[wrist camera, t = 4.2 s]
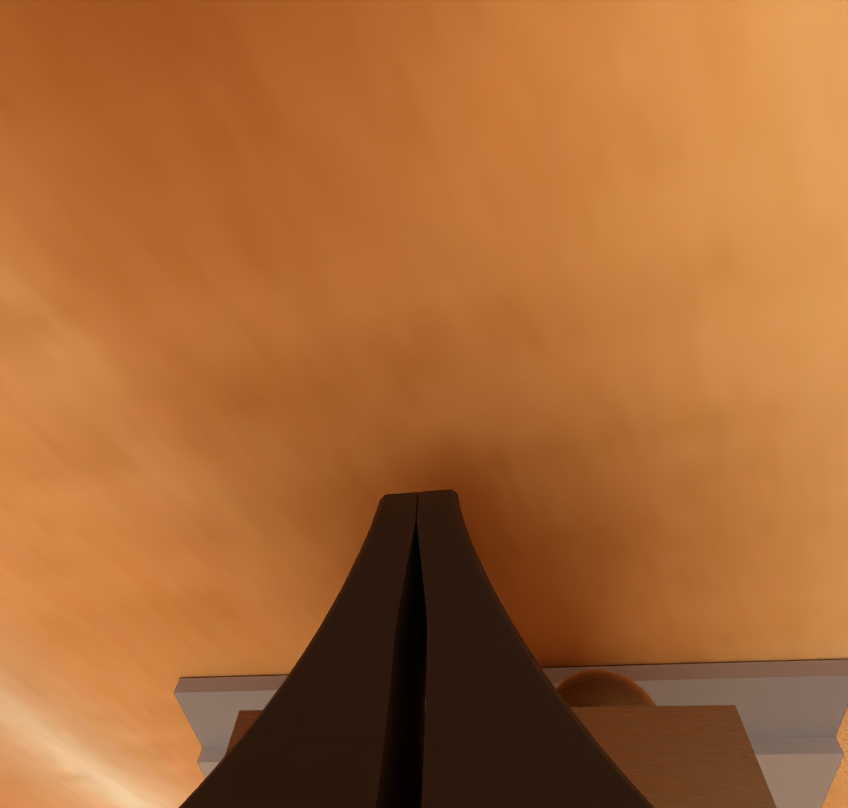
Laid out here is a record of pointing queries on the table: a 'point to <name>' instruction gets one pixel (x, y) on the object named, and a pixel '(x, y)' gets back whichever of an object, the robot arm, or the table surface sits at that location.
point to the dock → (667, 686)
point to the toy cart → (655, 744)
